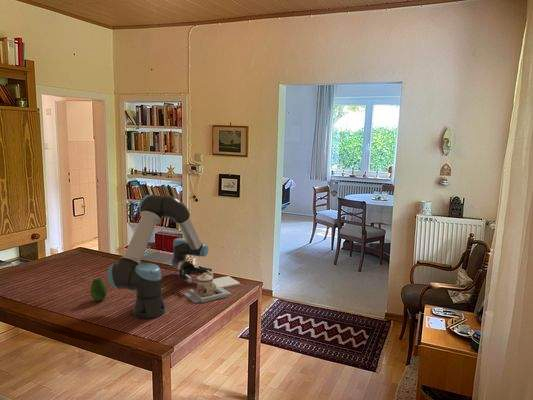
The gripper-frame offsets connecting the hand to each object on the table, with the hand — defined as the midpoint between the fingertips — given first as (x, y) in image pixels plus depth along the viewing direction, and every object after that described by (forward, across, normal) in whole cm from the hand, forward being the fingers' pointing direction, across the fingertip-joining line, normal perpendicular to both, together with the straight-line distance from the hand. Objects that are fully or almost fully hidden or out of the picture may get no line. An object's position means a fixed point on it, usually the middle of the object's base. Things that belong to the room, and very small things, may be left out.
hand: (201, 277), depth 225 cm
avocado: (-15, +51, -7) cm, 54 cm away
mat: (-3, -16, -7) cm, 17 cm away
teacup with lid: (+7, 0, -7) cm, 10 cm away
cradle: (+9, +1, -7) cm, 11 cm away
